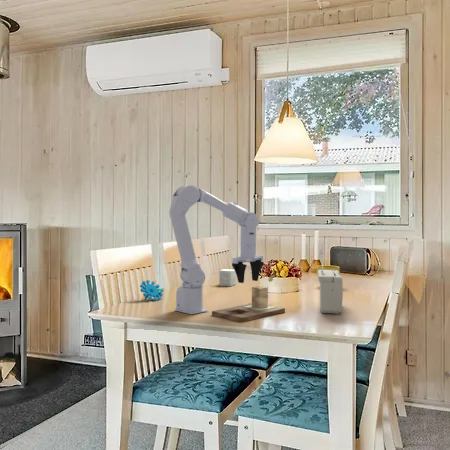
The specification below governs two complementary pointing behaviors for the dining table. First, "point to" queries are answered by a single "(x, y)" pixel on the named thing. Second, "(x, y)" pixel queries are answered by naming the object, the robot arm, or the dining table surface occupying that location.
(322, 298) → the stereo radio cassette player
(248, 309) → the pocket board
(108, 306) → the dining table surface
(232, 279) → the product box
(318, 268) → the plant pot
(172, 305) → the dining table surface
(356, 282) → the dining table surface
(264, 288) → the maple block
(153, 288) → the gear
